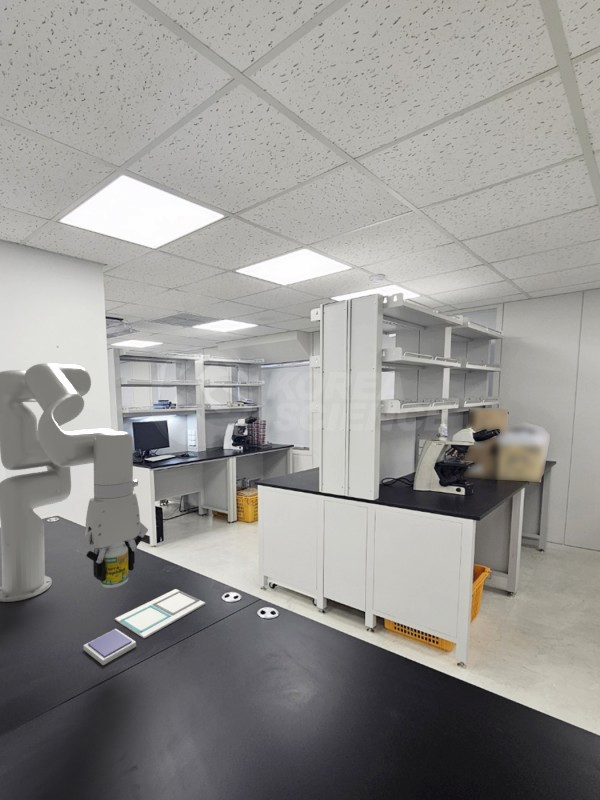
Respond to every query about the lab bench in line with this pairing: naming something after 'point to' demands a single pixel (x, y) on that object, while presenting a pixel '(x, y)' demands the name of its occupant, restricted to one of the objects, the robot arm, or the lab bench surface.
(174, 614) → the print sheet
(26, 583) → the robot arm
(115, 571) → the supplement bottle
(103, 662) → the ink pad
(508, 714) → the lab bench surface
